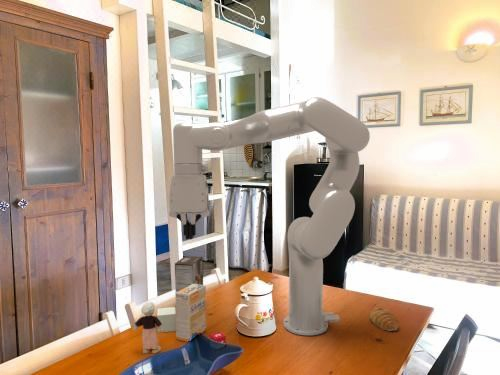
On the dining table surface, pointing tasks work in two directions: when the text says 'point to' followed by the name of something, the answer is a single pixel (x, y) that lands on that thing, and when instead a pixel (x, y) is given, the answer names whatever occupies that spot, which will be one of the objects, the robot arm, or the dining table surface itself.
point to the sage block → (167, 318)
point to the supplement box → (190, 311)
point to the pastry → (384, 319)
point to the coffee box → (188, 272)
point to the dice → (218, 337)
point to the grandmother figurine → (149, 328)
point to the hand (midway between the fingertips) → (189, 238)
